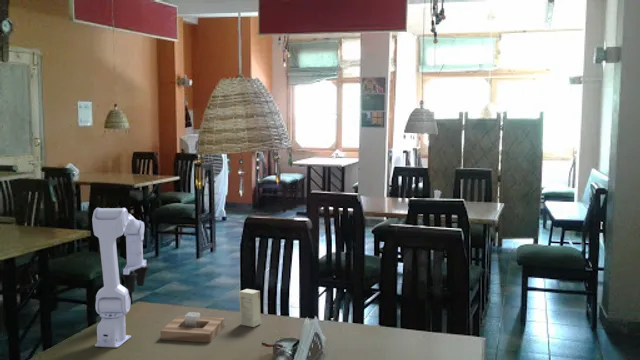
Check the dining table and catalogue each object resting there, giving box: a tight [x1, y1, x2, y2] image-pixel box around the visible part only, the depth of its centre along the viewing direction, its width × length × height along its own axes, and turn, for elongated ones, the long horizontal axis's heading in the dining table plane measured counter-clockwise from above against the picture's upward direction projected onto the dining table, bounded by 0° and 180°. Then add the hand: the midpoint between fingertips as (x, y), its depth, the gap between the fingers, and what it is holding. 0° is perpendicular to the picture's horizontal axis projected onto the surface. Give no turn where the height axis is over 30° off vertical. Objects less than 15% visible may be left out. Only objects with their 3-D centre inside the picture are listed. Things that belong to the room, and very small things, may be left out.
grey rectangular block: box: [184, 311, 201, 328], centre depth 193 cm, size 4×4×6 cm
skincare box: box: [239, 288, 262, 328], centre depth 202 cm, size 6×4×12 cm
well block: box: [160, 315, 225, 343], centre depth 194 cm, size 15×17×3 cm
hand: (135, 288), depth 209 cm, fingers open, 7 cm apart
